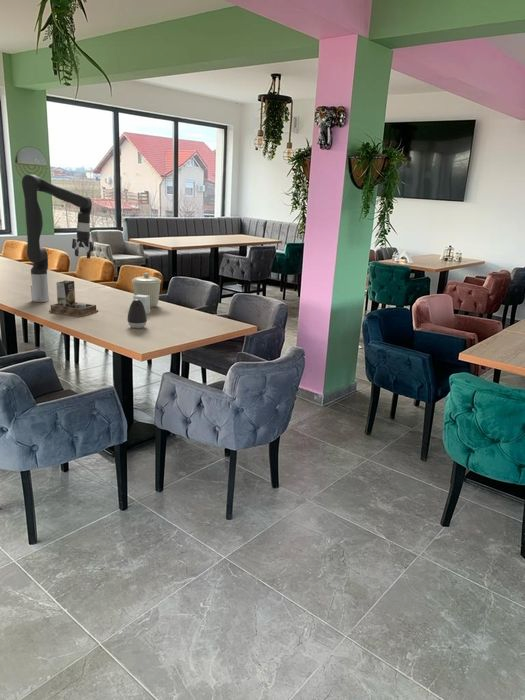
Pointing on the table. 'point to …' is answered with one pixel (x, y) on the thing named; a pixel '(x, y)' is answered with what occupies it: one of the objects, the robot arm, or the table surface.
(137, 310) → the black and white dome
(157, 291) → the canister
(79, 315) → the caddy
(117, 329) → the table surface
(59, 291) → the coffee box
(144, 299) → the small box
